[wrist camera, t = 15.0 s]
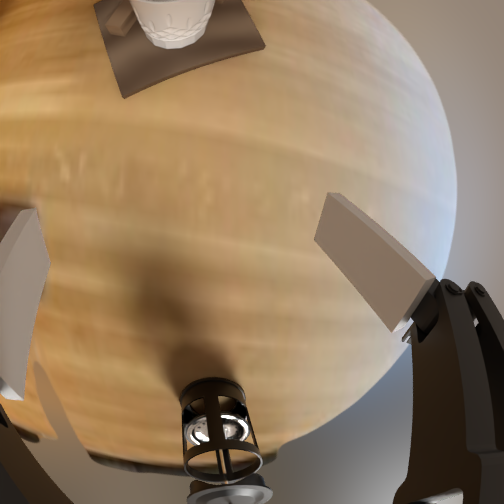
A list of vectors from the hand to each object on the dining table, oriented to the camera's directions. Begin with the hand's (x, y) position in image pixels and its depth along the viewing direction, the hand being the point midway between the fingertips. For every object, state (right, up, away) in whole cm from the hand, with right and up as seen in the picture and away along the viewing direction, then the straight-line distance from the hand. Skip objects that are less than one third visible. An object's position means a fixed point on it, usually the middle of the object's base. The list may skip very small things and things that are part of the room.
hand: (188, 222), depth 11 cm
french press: (-3, -23, +24) cm, 33 cm away
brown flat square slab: (-6, +25, +10) cm, 27 cm away
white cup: (-5, +23, +10) cm, 26 cm away
